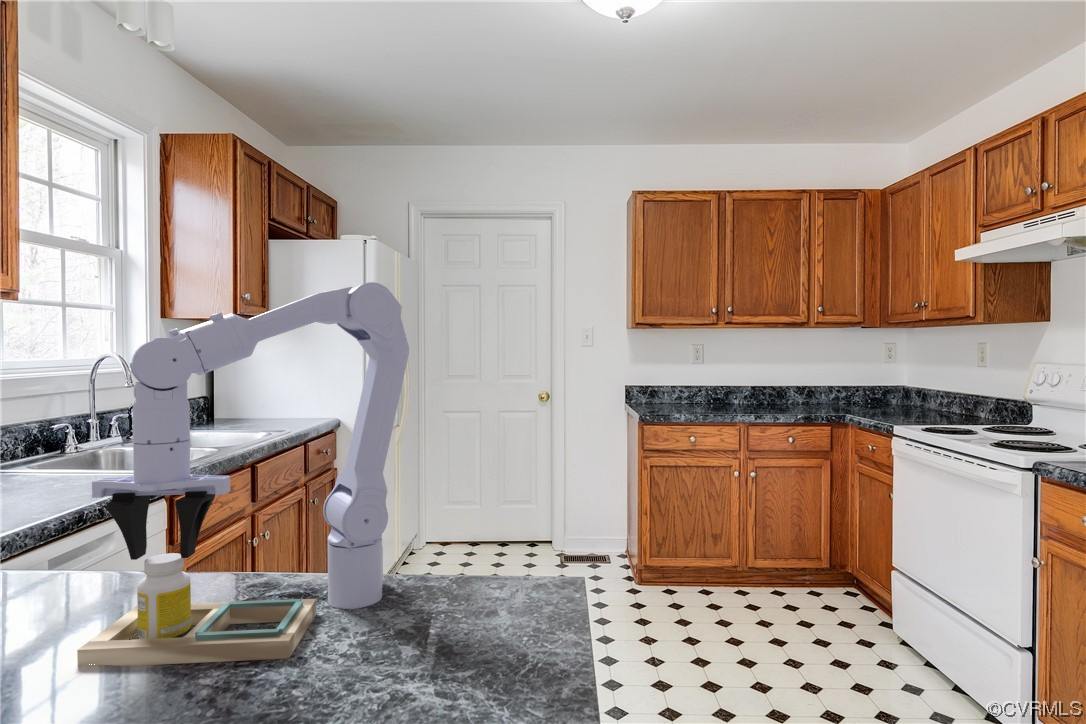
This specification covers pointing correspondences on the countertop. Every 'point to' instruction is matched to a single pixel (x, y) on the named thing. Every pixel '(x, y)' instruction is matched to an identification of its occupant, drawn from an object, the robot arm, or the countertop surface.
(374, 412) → the robot arm
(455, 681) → the countertop surface
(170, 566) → the supplement bottle
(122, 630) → the panel
